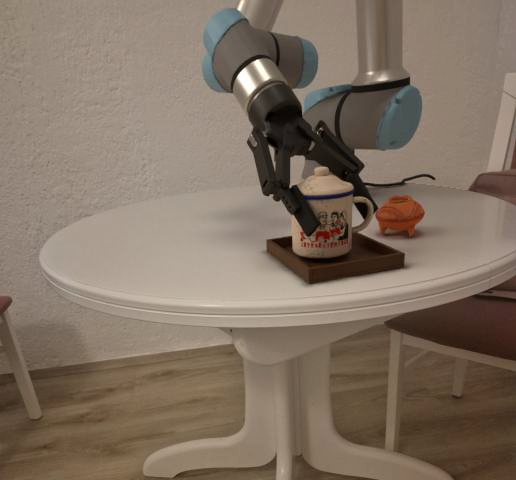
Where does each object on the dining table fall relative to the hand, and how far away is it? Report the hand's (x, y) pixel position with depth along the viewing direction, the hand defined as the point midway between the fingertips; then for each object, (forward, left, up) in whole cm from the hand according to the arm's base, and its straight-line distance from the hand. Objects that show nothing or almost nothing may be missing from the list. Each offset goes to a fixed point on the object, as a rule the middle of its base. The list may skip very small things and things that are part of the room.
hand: (344, 222), depth 67 cm
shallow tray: (+1, -3, -6) cm, 6 cm away
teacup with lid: (+1, -3, -5) cm, 5 cm away
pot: (-15, -10, -6) cm, 19 cm away
